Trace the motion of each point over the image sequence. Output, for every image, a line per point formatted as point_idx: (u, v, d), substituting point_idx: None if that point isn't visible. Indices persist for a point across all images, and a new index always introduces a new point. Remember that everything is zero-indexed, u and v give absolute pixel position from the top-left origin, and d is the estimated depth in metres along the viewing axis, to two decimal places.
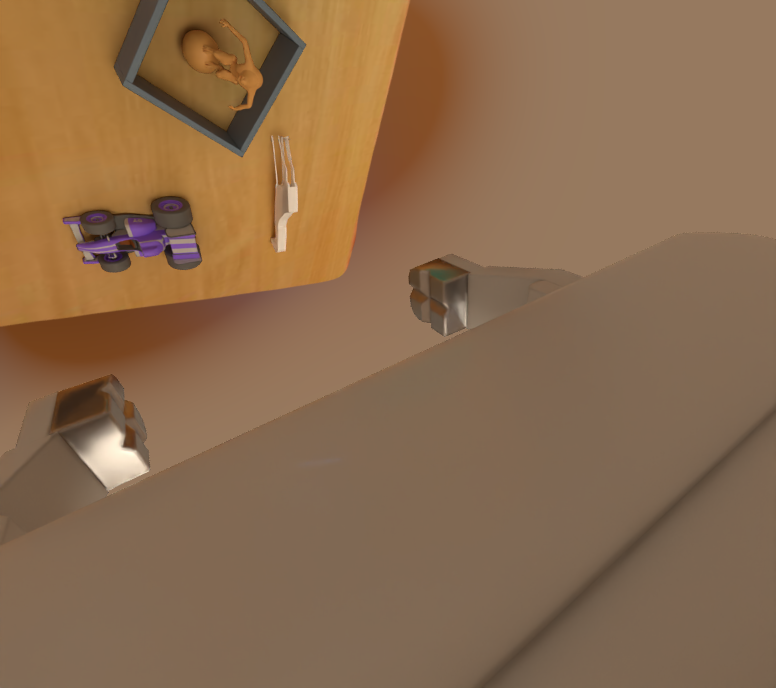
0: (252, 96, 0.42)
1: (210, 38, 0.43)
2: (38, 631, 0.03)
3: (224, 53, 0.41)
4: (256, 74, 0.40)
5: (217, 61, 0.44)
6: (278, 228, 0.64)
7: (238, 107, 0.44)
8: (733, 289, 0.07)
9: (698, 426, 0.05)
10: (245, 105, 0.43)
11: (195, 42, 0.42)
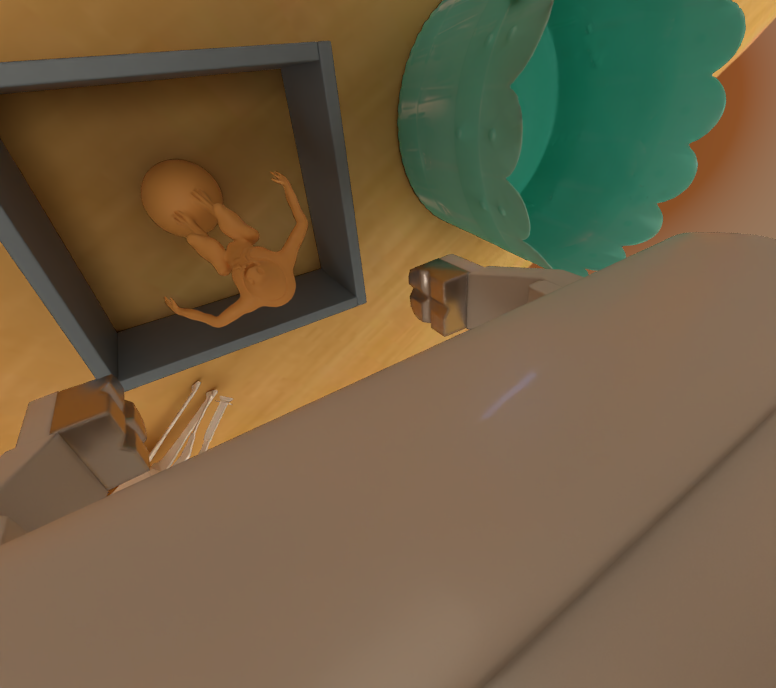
0: (243, 312, 0.17)
1: (220, 194, 0.21)
2: (38, 631, 0.03)
3: (238, 218, 0.18)
4: (288, 282, 0.16)
5: (204, 227, 0.21)
6: None
7: (189, 311, 0.17)
8: (733, 289, 0.07)
9: (699, 426, 0.05)
10: (210, 317, 0.17)
11: (188, 176, 0.19)
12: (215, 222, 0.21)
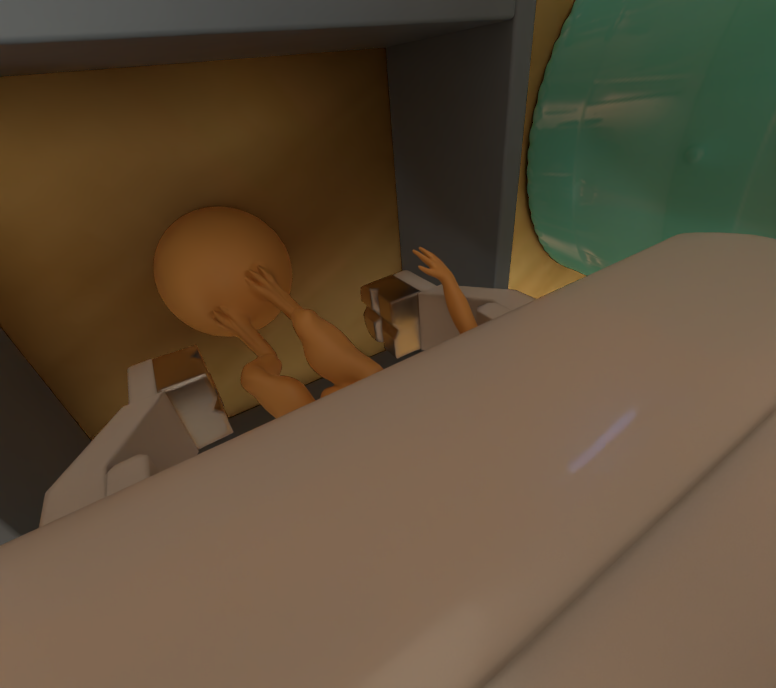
0: None
1: (289, 264, 0.12)
2: (38, 631, 0.03)
3: (343, 341, 0.09)
4: None
5: (261, 324, 0.12)
6: None
7: None
8: (733, 289, 0.07)
9: (699, 426, 0.05)
10: None
11: (240, 243, 0.10)
12: (279, 311, 0.12)
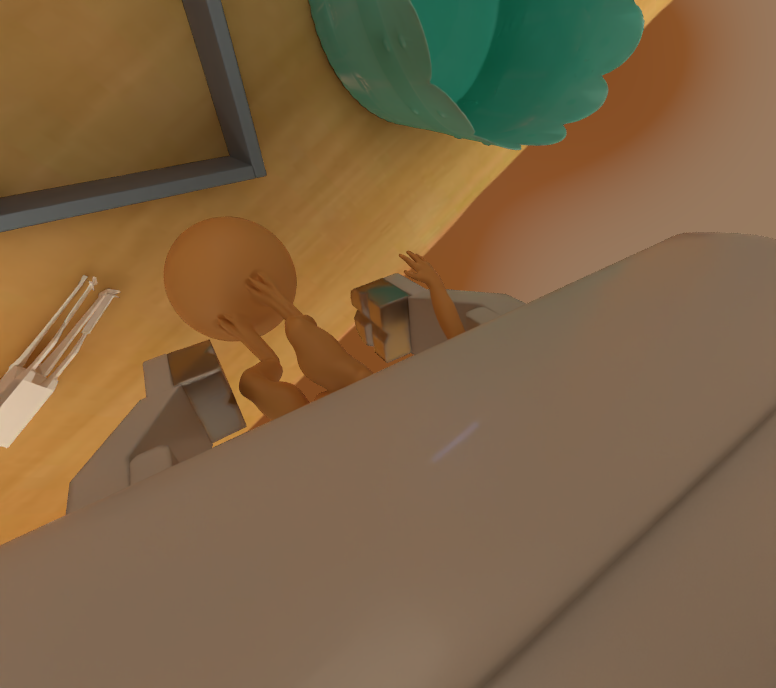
0: None
1: (292, 269, 0.12)
2: (38, 631, 0.03)
3: (335, 347, 0.09)
4: None
5: (266, 329, 0.12)
6: None
7: None
8: (733, 289, 0.07)
9: (699, 426, 0.05)
10: None
11: (240, 252, 0.11)
12: None
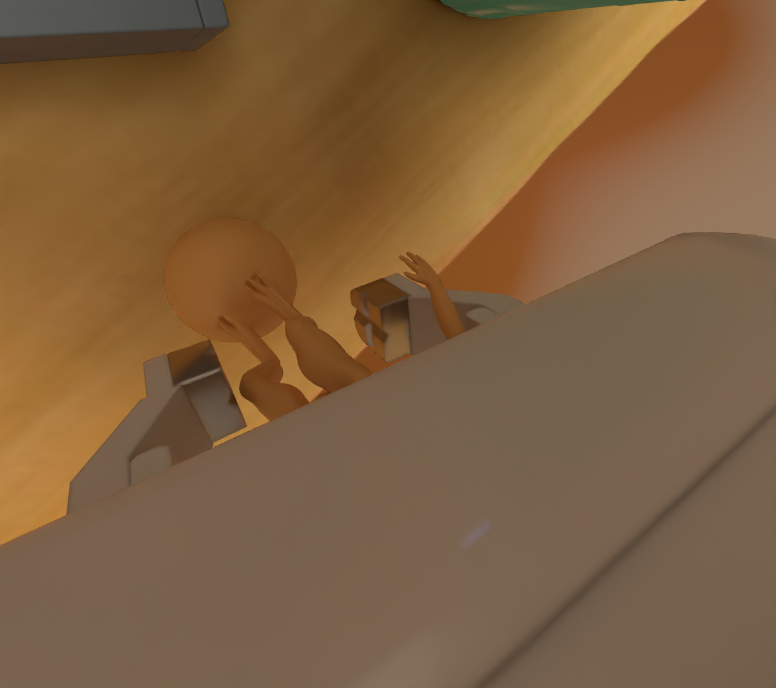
0: None
1: (292, 270, 0.12)
2: (38, 631, 0.03)
3: (335, 348, 0.09)
4: None
5: (267, 330, 0.12)
6: None
7: None
8: (733, 289, 0.07)
9: (698, 425, 0.05)
10: None
11: (240, 254, 0.11)
12: None
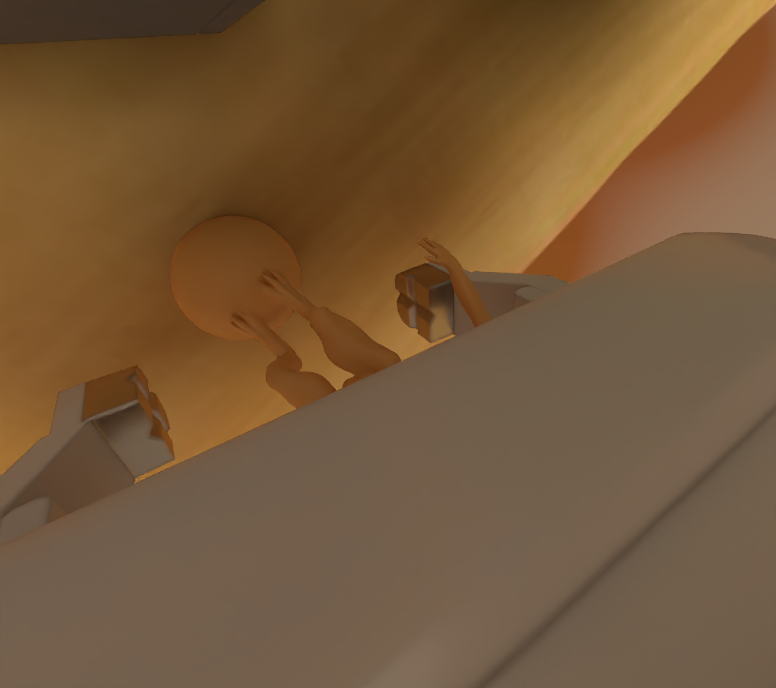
0: None
1: (297, 265, 0.13)
2: (38, 631, 0.03)
3: (360, 333, 0.09)
4: None
5: (276, 325, 0.12)
6: None
7: None
8: (733, 289, 0.07)
9: (697, 426, 0.05)
10: None
11: (251, 249, 0.11)
12: (292, 311, 0.13)
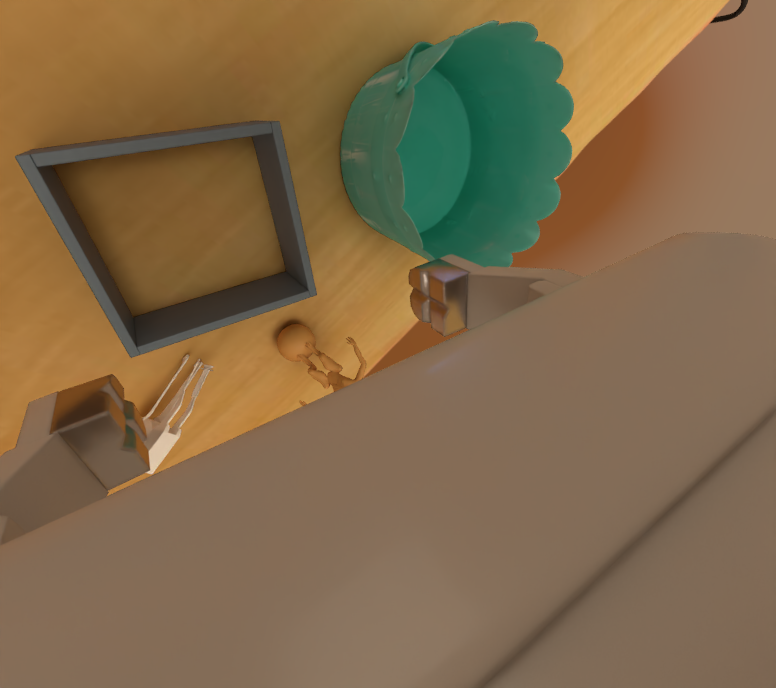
0: None
1: (314, 338, 0.41)
2: (38, 631, 0.03)
3: (332, 360, 0.38)
4: None
5: None
6: None
7: None
8: (733, 289, 0.07)
9: (699, 426, 0.05)
10: None
11: (302, 336, 0.39)
12: (312, 352, 0.41)
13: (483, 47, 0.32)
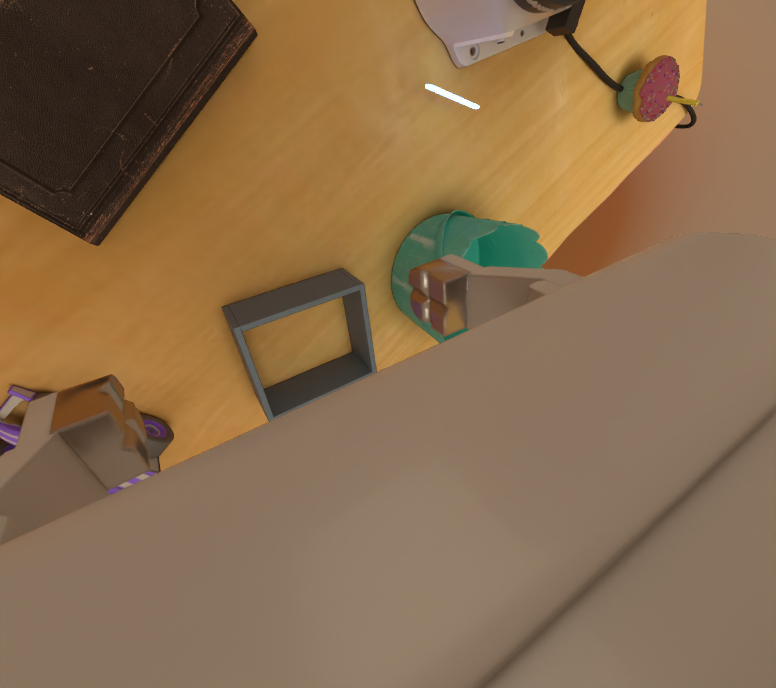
0: None
1: None
2: (38, 631, 0.03)
3: None
4: None
5: None
6: None
7: None
8: (733, 289, 0.07)
9: (698, 425, 0.05)
10: None
11: None
12: None
13: None
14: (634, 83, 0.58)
